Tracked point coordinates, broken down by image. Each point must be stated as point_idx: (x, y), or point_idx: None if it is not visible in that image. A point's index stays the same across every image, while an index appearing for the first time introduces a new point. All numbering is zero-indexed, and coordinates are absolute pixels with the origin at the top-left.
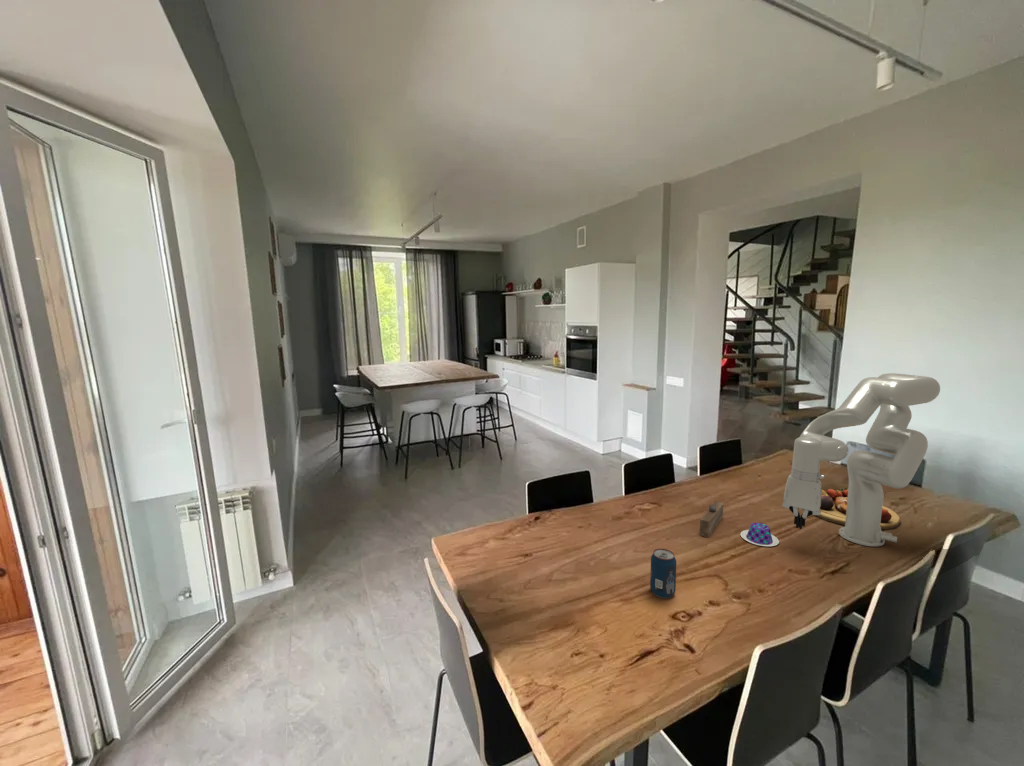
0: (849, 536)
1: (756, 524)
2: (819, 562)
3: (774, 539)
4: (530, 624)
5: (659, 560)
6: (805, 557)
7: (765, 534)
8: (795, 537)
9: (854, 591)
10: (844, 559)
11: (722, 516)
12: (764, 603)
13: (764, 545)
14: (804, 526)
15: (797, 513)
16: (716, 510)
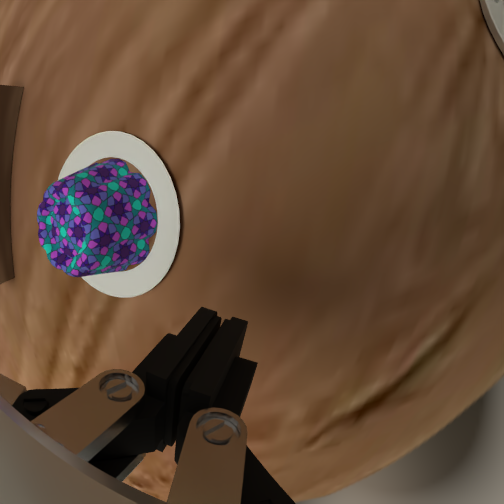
0: None
1: (52, 203)
2: (340, 360)
3: (163, 194)
4: None
5: None
6: (289, 336)
7: (100, 268)
8: (273, 106)
9: (377, 468)
10: (461, 290)
11: (18, 91)
12: None
13: (129, 281)
14: (249, 388)
15: (130, 466)
16: None
